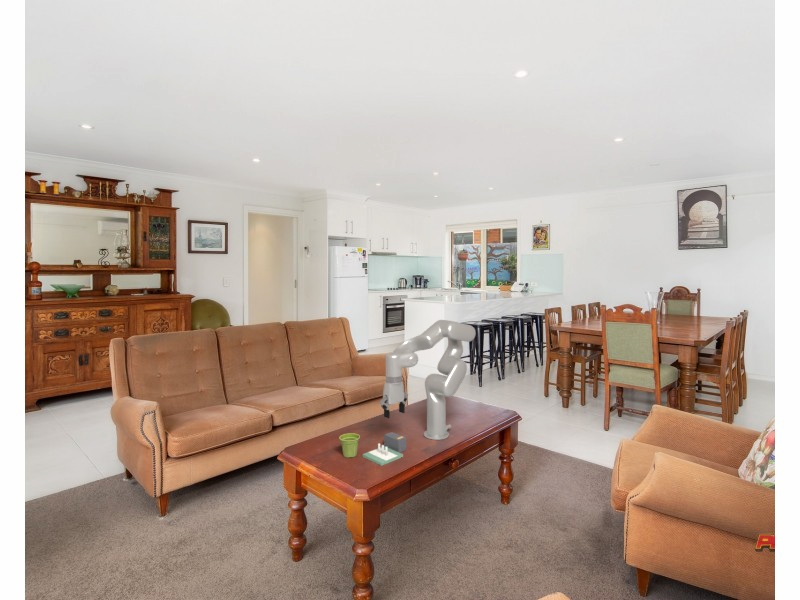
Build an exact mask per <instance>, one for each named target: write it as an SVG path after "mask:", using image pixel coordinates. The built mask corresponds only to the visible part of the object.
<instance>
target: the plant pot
mask: <svg viewBox="0 0 800 600" xmlns="http://www.w3.org/2000/svg"><path fill="white" fill-rule="evenodd" d="M338 438H339V440H340V444H341V449H342V454H343V457H344V458H347V459H348V458H355V457H357V455H358V448H359V446H358V445H359V441H360V438H361V436H360V434H357V433H354V432H353V433H352V432H350V433H349V432H348V433H343V434H341V435H340V436H339V437H338Z"/></svg>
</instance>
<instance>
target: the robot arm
mask: <svg viewBox="0 0 800 600" xmlns="http://www.w3.org/2000/svg"><path fill="white" fill-rule="evenodd" d="M475 337H476V329H475V327H473V326H472V325H470V324H466V323H462V322H458V321H452V320H448V319H447V320H446V319H438V320H437V321H435V322H434V323H433V324H431V325H430V326H429V327H428V328H426V330H424V331H423V332H422V333H421V334H418V335H416V336H414V337H411V338H409V339H407V340H405V341H403V342H402V343H400V344H399V345H398V346H397V347H396V348H395V349H394V350H393V351H392V352H388V353H386V355H385V359H384V360H385V382H384V384H383V392H382V399H380V401H379V405H380V407H381V408H382V409H383V417H384V418H386V419H390V417H391V416H390V415H391V414H390V407H391V406H393V405H396V404H398V412H399V413H402V414H405V413H406V412H405V408H406V407H405V405H406V403H407V401H408V396H409V393H407V392H405V387H404V382H403V376H404V375H403V369H402V368H412V367H413V368H414V367H415V366H416V365H417V364H418V362H419V357H418V354H417V353H415V352H420V351H425V350H430V349H432V348H433V347H434V346H436V345H437V344H438V343H440V341H441V340H443V339H444V338H447V347H446V349H445V351H444V353H443V354H442V356H441V358H440V359H439V361H438V362H437V370H438V373H430V374H428V375H427V377H426V378H425V381H424V388H425V393H426V394H425V395H426V430H425V431H424V432H423V436H424V438H426V439H429V440H433V441H439V440H440V441H441V440H445V439H448V438H449V435H450V433H449V431H448V429H451V428H452V425H451V423H449V424H446V422H447V417H446V416H447V413H446V412H447V411H446V409H447V407H446V406H447V405H446V404H447V401H446V398H451V397H454V395H455V394H456V392H457V391H458V390H459V388H460V385H461V384H462V382H463V380H464V378H465V376H466V374H467V371H468V367H467V363H466V362H465V360H463V359H462V358H461V357H462V356H463V353H464V345H463V342H466V343H467V342H468V343H470V342H472V341H473V340H474V339H475ZM439 373H440V374H439ZM442 374H443V375H442Z"/></svg>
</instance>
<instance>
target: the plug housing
mask: <svg viewBox="0 0 800 600" xmlns="http://www.w3.org/2000/svg"><path fill="white" fill-rule="evenodd" d="M383 445H384V446H385V447H386V446H387V447H388V448H389V449H392V450H394V451H396V452H399V453H402V452H404V451H406V450H407V437H406V436H403V435H401V434H399V433H397V432H396V433H395V432H393V431H391V432H388V433H385V434H383Z"/></svg>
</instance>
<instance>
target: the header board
mask: <svg viewBox="0 0 800 600" xmlns="http://www.w3.org/2000/svg"><path fill="white" fill-rule="evenodd" d="M401 457H402V458H403V457H404V454H403V453H402V452H400V453H399V452H396V451H394V450H392V449H389V448H388V447H387V446H386V447H385V446H384V444H381V443H380V442H379V443H377V448H376V449H372V450H370V451H367V452H365V453H362V458H365V459H366V460H369V461H371V462H372V463H375V464H377V465H379V466H381V467H382V466H385V465H388V464H390V463H392V462H394V461H396V460H399V459H401Z"/></svg>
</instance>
